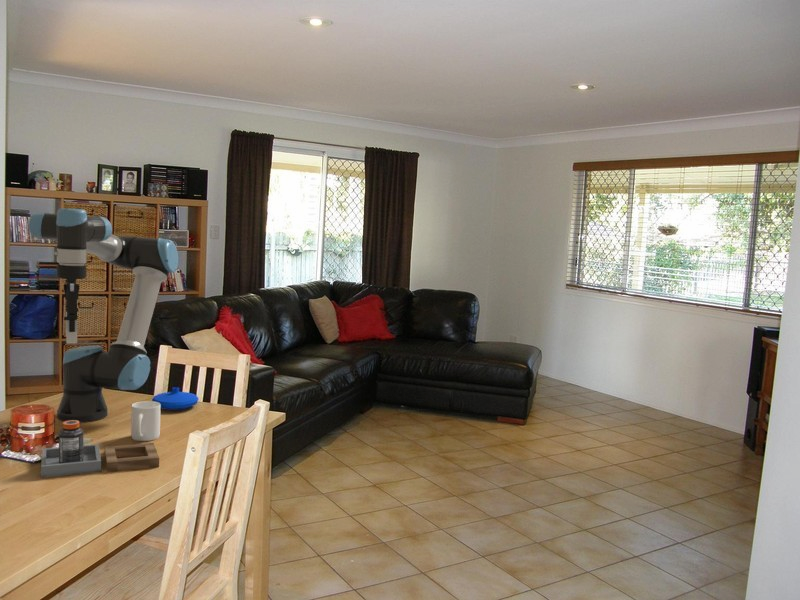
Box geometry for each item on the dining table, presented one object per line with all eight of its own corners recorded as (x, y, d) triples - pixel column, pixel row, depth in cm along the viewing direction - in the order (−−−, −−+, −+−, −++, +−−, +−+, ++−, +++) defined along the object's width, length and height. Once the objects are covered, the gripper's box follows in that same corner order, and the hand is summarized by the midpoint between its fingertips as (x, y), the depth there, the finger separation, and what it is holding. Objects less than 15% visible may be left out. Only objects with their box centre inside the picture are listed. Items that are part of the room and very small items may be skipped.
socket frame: (103, 452, 194) (103, 443, 194) (152, 447, 200) (152, 439, 199) (107, 472, 180) (107, 462, 179) (159, 466, 186) (159, 457, 185)
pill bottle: (69, 457, 186) (69, 417, 185) (88, 460, 185) (88, 420, 183) (53, 464, 180) (53, 423, 179) (72, 468, 179) (72, 426, 177)
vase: (202, 402, 251) (203, 383, 250) (192, 414, 235) (193, 394, 234) (158, 400, 249) (159, 381, 248) (146, 412, 234) (146, 392, 233)
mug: (150, 446, 201) (151, 412, 200) (122, 445, 200) (122, 411, 199) (163, 433, 213) (164, 401, 212) (136, 432, 212) (137, 400, 211)
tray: (42, 459, 186) (42, 448, 185) (98, 454, 192) (98, 444, 192) (41, 478, 173) (40, 466, 173) (100, 471, 179) (101, 461, 179)
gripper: (56, 260, 200) (56, 331, 202) (56, 267, 178) (56, 347, 180) (84, 260, 203) (84, 330, 206) (88, 268, 181) (87, 346, 184)
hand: (71, 338), depth 193 cm, fingers open, 13 cm apart
